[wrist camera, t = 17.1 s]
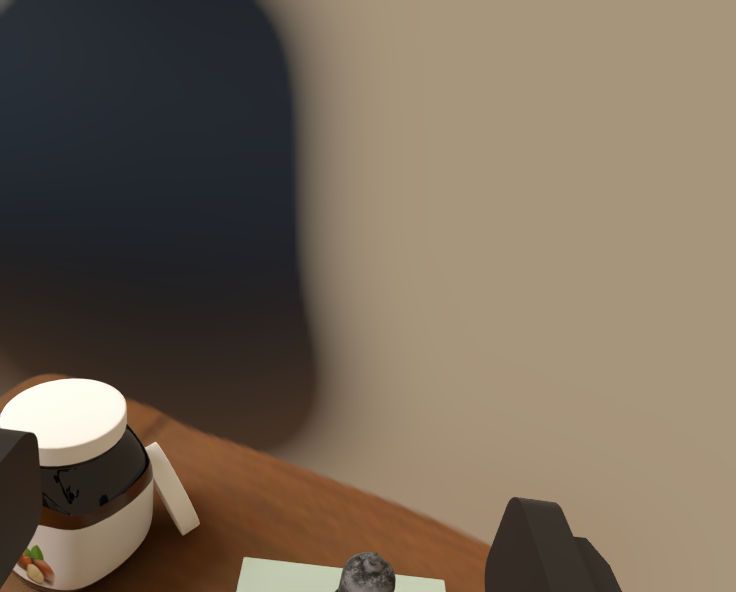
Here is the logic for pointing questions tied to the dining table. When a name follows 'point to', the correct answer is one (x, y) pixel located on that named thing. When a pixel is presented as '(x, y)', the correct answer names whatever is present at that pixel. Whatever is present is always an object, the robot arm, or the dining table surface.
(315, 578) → the light green square frame
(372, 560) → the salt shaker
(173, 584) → the dining table surface
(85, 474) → the spread jar
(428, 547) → the dining table surface
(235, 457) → the dining table surface
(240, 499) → the dining table surface
